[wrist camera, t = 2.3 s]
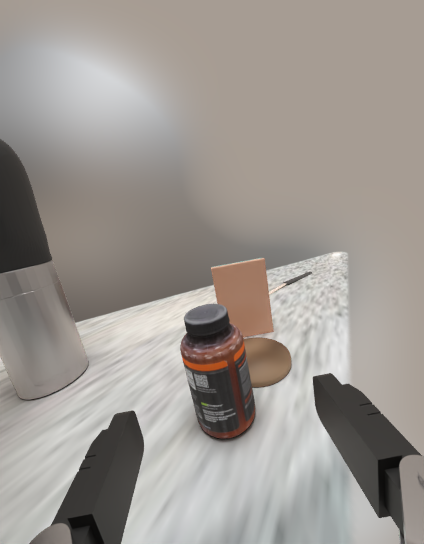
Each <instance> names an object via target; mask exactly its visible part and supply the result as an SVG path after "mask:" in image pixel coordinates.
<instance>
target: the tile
mask: <svg viewBox="0 0 424 544" xmlns="http://www.w3.org/2000/svg"><path fill="white" fill-rule="evenodd" d="M211 270H212V276H213V281H214V287H215V292H216V298H217V303H218V304H220V305H223V306H225V307H226V308H227V311H228V316H229V319H230V323H231V324H233V325H235V326H236V327H237V328H238V329H239V330H240V331H241V333H242V336H243V337H247V336H253V335H258V334H263V333H269V332H274V331H273V323H272V315H271V307H270V299H269V291H268V283H267V275H266V267H265V259H263V258H258V259H253V260H247V261H242V262H237V263H231V264H225V265H221V266H215V267H211Z"/></svg>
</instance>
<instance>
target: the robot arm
mask: <svg viewBox="0 0 424 544" xmlns="http://www.w3.org/2000/svg"><path fill="white" fill-rule="evenodd" d="M0 357H1V359H2V362H3V364H4V366H5V368H6V370H7V373H8V375H9V377H10V379H11V381H12V383H13V385H14V388H15V390H16V392H17V394H18V396H19V397H20V398H21V399H26V400H28V399H36V398H40V397H43V396H46V395H49V394H51V393H53V392H55V391H58V390H59V389H61V388H63V387H65V386H67V385H68V384H70V383H71V382H73V381H74V380H75V379H76V378H78V377H79V376H80V375H81V374H82V373H83V372H84V371H85V369H86V368H87V366H88V362H89V361H88V359H87V356H86V353H85V350H84V347H83V344H82V342H81V338H80V335H79V333H78V330H77V327H76V324H75V321H74V319H73V316H72V313H71V310H70V307H69V305H68V302H67V299H66V296H65V293H64V291H63V288H62V285H61V282H60V280H59V277H58V274H57V272H56V269H55V265H54V263H53V261H52V257H51V254H50V252H49V247H48V242H47V238H46V234H45V231H44V228H43V225H42V222H41V219H40V215H39V212H38V209H37V205H36V201H35V198H34V194H33V190H32V187H31V184H30V181H29V178H28V176H27V173H26V171H25V168H24V166H23V165H22V163H21V161H20V159H19V157H18V156H17V154H16V153H15V152H14V151H13V149H12V148H11V147H10V146H9V145H7V144H6V143H5V142H4V141H2V140H1V139H0ZM313 386H314V397H315V406H316V410H317V413H318V416H319V418H320V420H321V422H322V424H323V426H324V427H325V429H326V431H327V432H328V434H329V436H330V437H331V439H332V441H333V442H334V444H335V446H336V447H337V449H338V451H339V452H340V454H341V456H342V457H343V459H344V461H345V462H346V464H347V466H348V467H349V469H350V471H351V472H352V474H353V476H354V477H355V479H356V481H357V482H358V484H359V486H360V487H361V489H362V491H363V492H364V494H365V496H366V497H367V499H368V500H369V502H370V504H371V506H372V507H373V509H374V511H375V512H376V514H377V516H378V517H379V518H382V517H388V516H391V517H392V519H393V520H394V522H395V523H396V525H397V527H398V528H399V540H400V544H424V456H422V455H421V454H420V453H419V452H418V451H417V450H416V449H415V448H414V447H413V446H412V445H411V444H410V443H409V442H408V441H407V440H406V439H405V438H404V436H403V435H402V434H401V433H400V432H399V431H398V430H397V429H396V428H395V427H394V426H393V425H392V424H391V423H390V422H389V420H388V419H387V418H386V417H385V416H384V415H383V414H381V413H380V411H379V410H378V409H377V408H376V407H375V406H374V405H372V402H371V401H370V400H369V399H368V398H367V397H366V396H365V395H364V394H363V393H362V392H361V391H359V390H358V389H356V388H354V387H353V386H351V385H350V384H344V385H342V384H341V383H340V382H339V381H338V380H337V379H336V377H335V376H334V375H333V374H331V373H329V374H324V375H319V376H314V377H313ZM143 452H144V440H143V436H142V433H141V429H140V426H139V423H138V420H137V417H136V414H135V412H134V411H128V412H123V413H117V414H115V415H114V417H113V419H112V421H111V423H110V425H109V428H108V429H106V430H102V432H101V433H100V434H99V435H98V436H97V437H96V439H95V440H94V441H93V442H92V444H91V446H90V448H89V450H88V452H87V454H86V456H85V460H83V462H82V464H81V466H80V468H79V472H77V474H76V476H75V478H74V480H73V482H72V484H71V486H70V488H69V490H68V492H67V494H66V496H65V498H64V500H63V502H62V504H61V506H60V508H59V510H58V512H57V514H56V516H55V518H54V520H53V522H52V524H51V526H50V527H48V528H46V529H45V530H43V531H42V532H41V533H39V534H38V535H37V536H36V537H35V538H34V539H33V540H32V541H31V542H30V543H29V544H121V541H122V537H123V533H124V529H125V525H126V521H127V517H128V513H129V509H130V505H131V501H132V497H133V493H134V489H135V485H136V481H137V477H138V473H139V469H140V465H141V461H142V457H143Z"/></svg>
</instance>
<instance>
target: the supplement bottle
mask: <svg viewBox="0 0 424 544" xmlns="http://www.w3.org/2000/svg"><path fill="white" fill-rule="evenodd" d="M184 322H185V326H186V331H187V334H186V335H185V336H184V337H183V339H182V342H181V348H180V349H181V354H182V358H183V363H184V367H185V371H186V375H187V379H188V382H189V387H190V391H191V395H192V399H193V403H194V407H195V410H196V415H197V418H198V422H199V424H200V426H201V428H202V429H203V430H204V431H205V432H206V433H207V434H209V435H211V436H213V437H216V438H232V437H235V436H237V435H239V434H241V433H242V432H244V431H245V430H246V429H247V428H248V427H249V426H250V425H251V423H252V421H253V419H254V415H255V402H254V396H253V390H252V384H251V379H250V373H249V367H248V362H247V356H246V350H245V345H244V339H243V336H242V333H241V331H240V330H239V329H238V328H237V327H236V326H235V325H233V324H231V323H230V319H229V316H228V311H227V308H226V307H225V306H223V305H220V304H206V305H202V306H199V307H196V308H194V309H192V310H190V311H189V312H187V313H186V315H185V317H184Z"/></svg>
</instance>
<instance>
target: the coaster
mask: <svg viewBox="0 0 424 544" xmlns="http://www.w3.org/2000/svg"><path fill="white" fill-rule="evenodd" d="M244 345H245V350H246V356H247V362H248V367H249V373H250V379H251V384H252V387H264V386H269V385H272V384H275V383H277V382H279V381H280V380H282V379H283V378H284V377H285V376H286V375H287V374H288V373H289V371H290V369H291V356H290V353H289V351H288V349H287V348H286V347H285V346H284V345H283V344H281V343H279V342H277V341H275V340H272V339H267V338H248V339H244Z"/></svg>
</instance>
